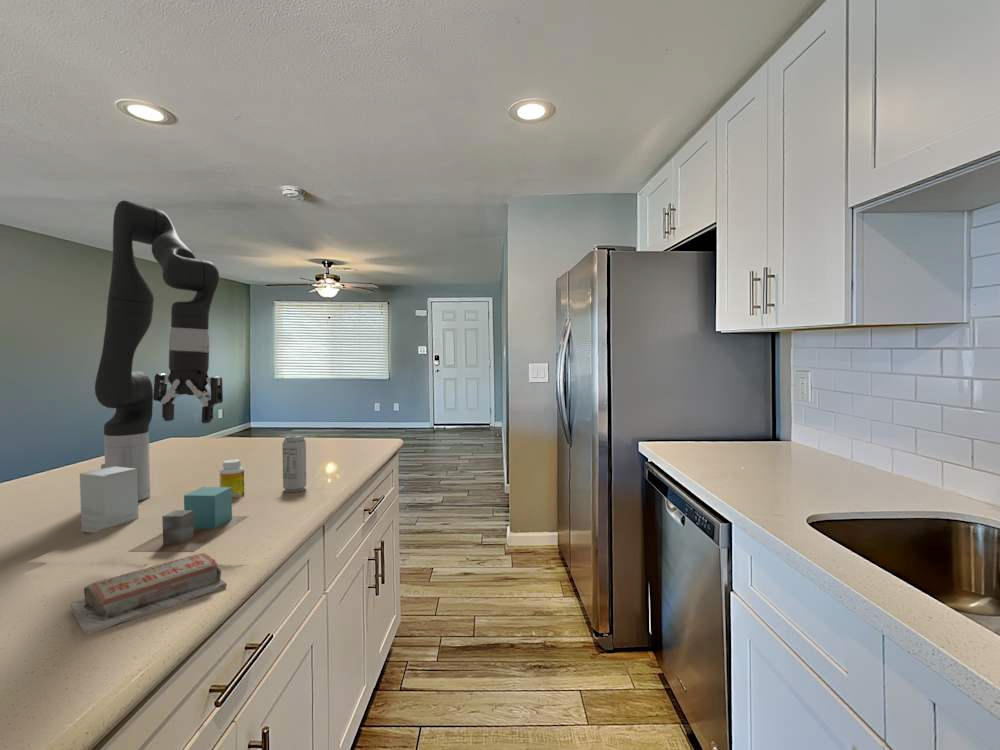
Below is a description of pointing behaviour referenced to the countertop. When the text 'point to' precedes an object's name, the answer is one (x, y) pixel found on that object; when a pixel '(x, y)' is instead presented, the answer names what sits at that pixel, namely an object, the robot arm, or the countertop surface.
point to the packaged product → (146, 591)
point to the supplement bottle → (233, 477)
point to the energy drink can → (294, 463)
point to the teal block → (209, 506)
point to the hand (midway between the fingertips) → (187, 421)
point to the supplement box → (108, 498)
